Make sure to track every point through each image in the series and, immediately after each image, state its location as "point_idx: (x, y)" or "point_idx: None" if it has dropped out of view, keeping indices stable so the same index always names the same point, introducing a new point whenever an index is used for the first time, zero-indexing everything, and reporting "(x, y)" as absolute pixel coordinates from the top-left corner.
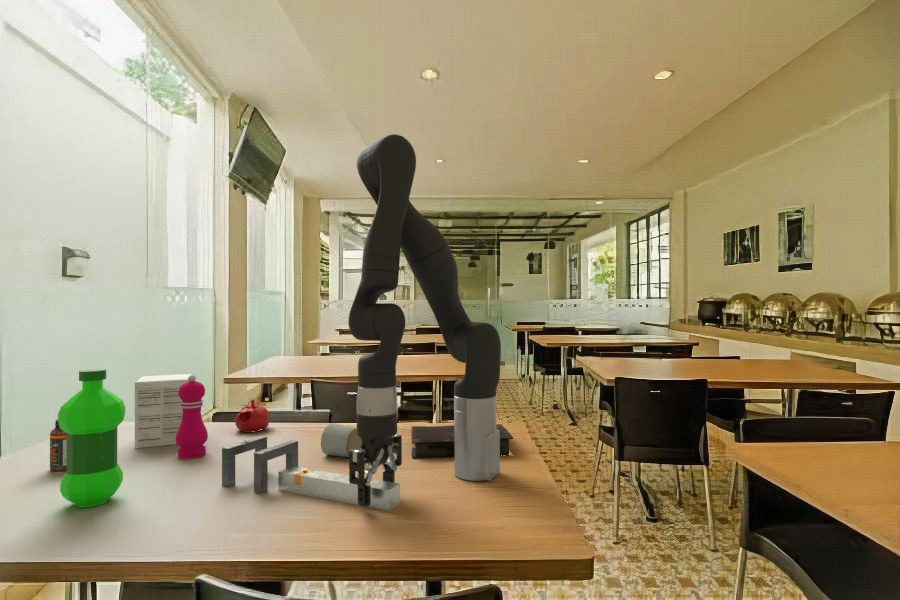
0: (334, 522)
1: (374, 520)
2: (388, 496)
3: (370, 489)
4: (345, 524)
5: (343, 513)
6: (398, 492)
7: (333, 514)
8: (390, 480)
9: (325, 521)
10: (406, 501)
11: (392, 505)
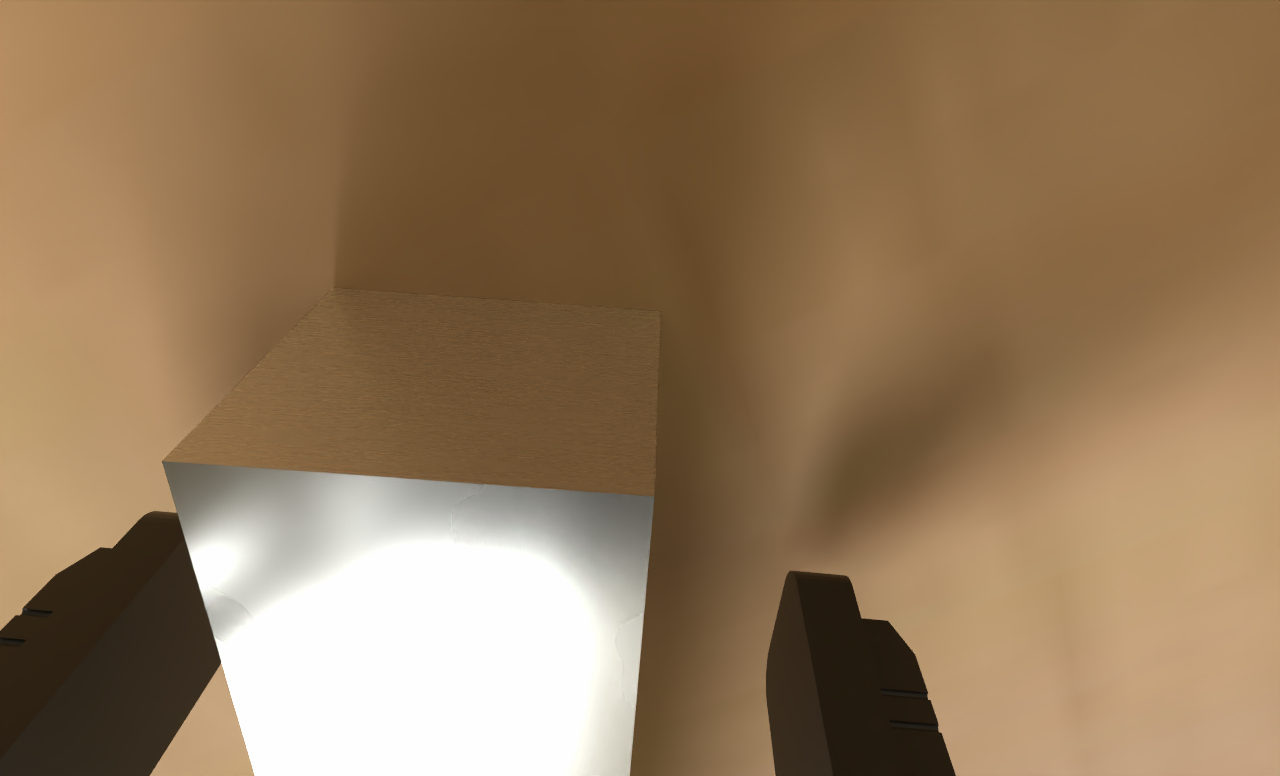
0: (1140, 685)
1: (1036, 343)
2: (654, 432)
3: (832, 765)
4: (1191, 581)
5: None
6: (312, 378)
7: None
8: (112, 671)
9: (1120, 753)
10: (227, 227)
11: (556, 322)
